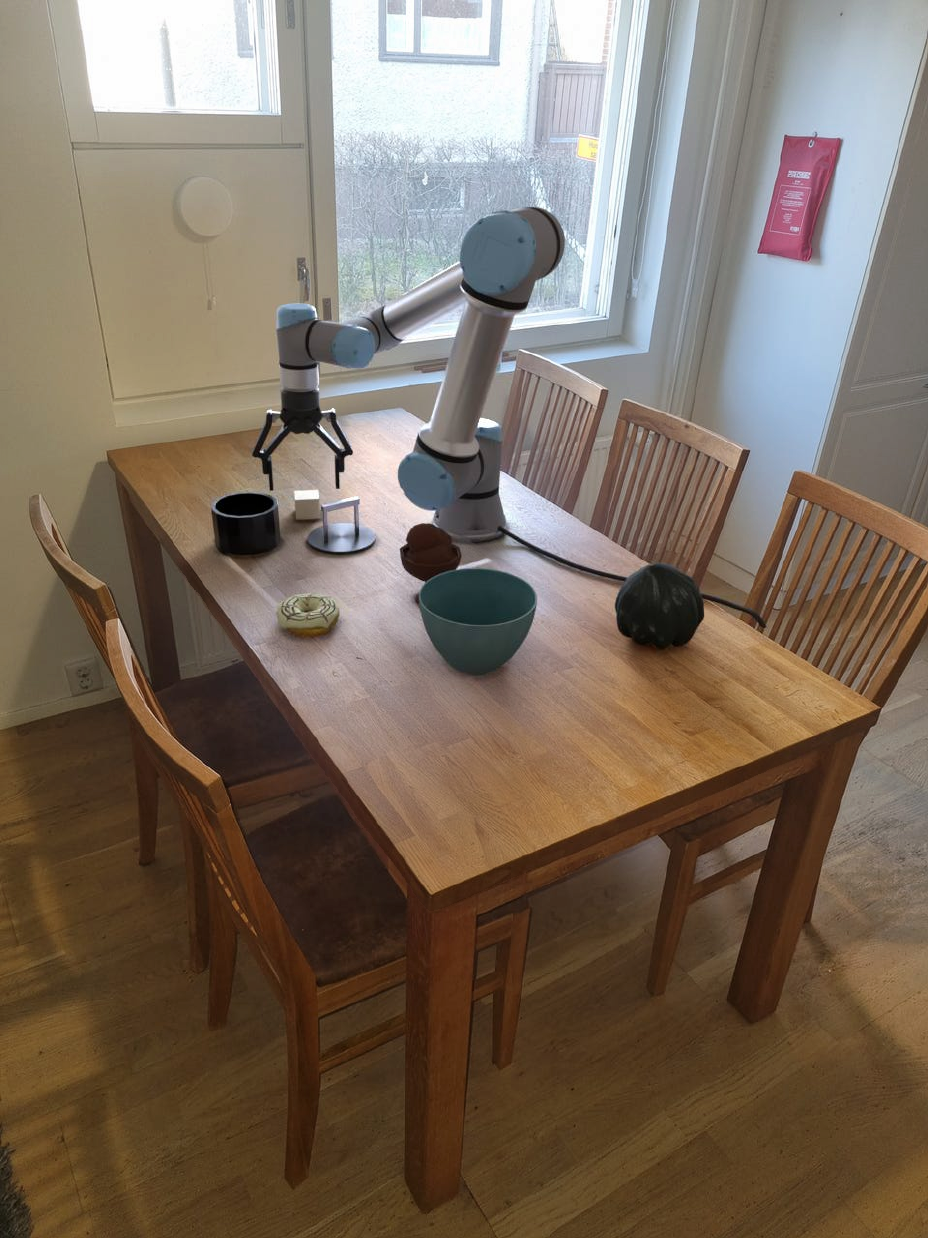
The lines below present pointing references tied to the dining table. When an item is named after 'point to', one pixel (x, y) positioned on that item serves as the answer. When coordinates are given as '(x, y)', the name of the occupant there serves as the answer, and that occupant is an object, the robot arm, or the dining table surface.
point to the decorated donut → (308, 614)
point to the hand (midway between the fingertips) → (304, 487)
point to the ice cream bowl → (429, 553)
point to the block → (307, 504)
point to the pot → (246, 523)
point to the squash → (659, 606)
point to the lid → (341, 532)
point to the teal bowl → (477, 617)
